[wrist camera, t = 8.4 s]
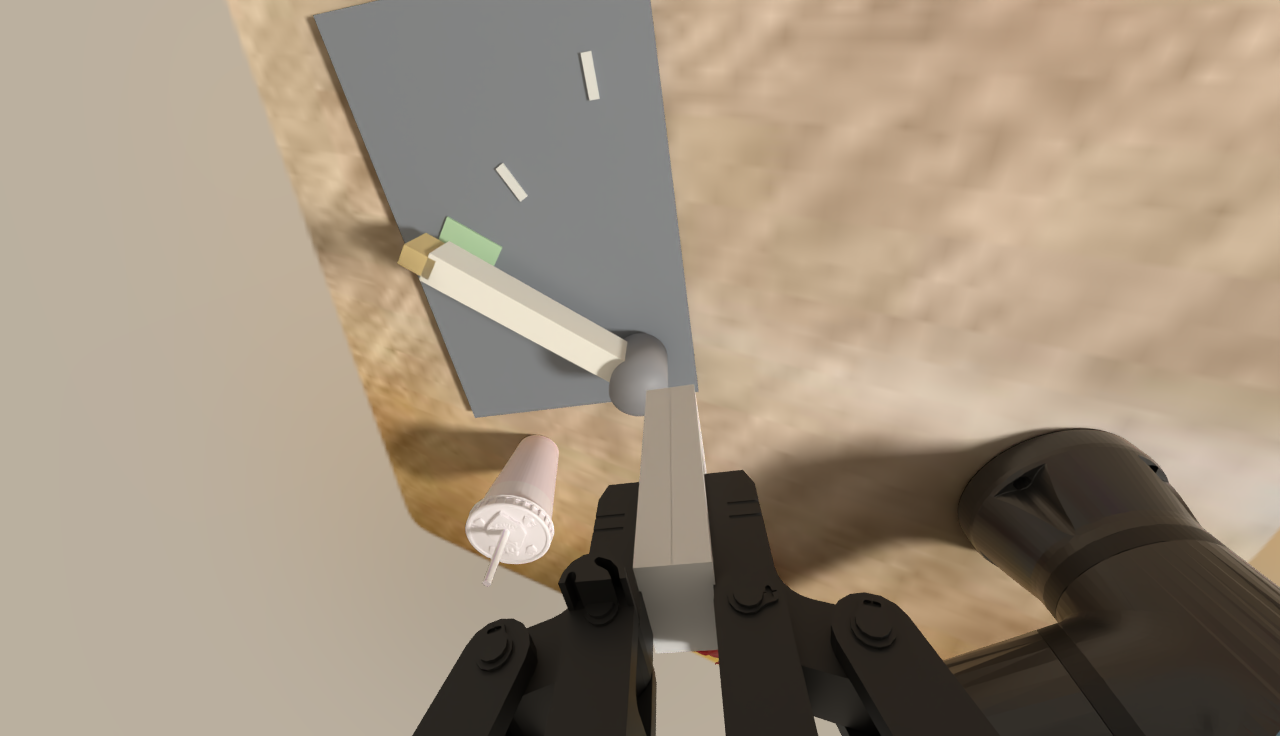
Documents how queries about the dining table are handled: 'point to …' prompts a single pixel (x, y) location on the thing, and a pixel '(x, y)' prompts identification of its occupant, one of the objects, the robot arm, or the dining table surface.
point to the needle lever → (542, 320)
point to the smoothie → (517, 507)
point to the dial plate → (525, 171)
